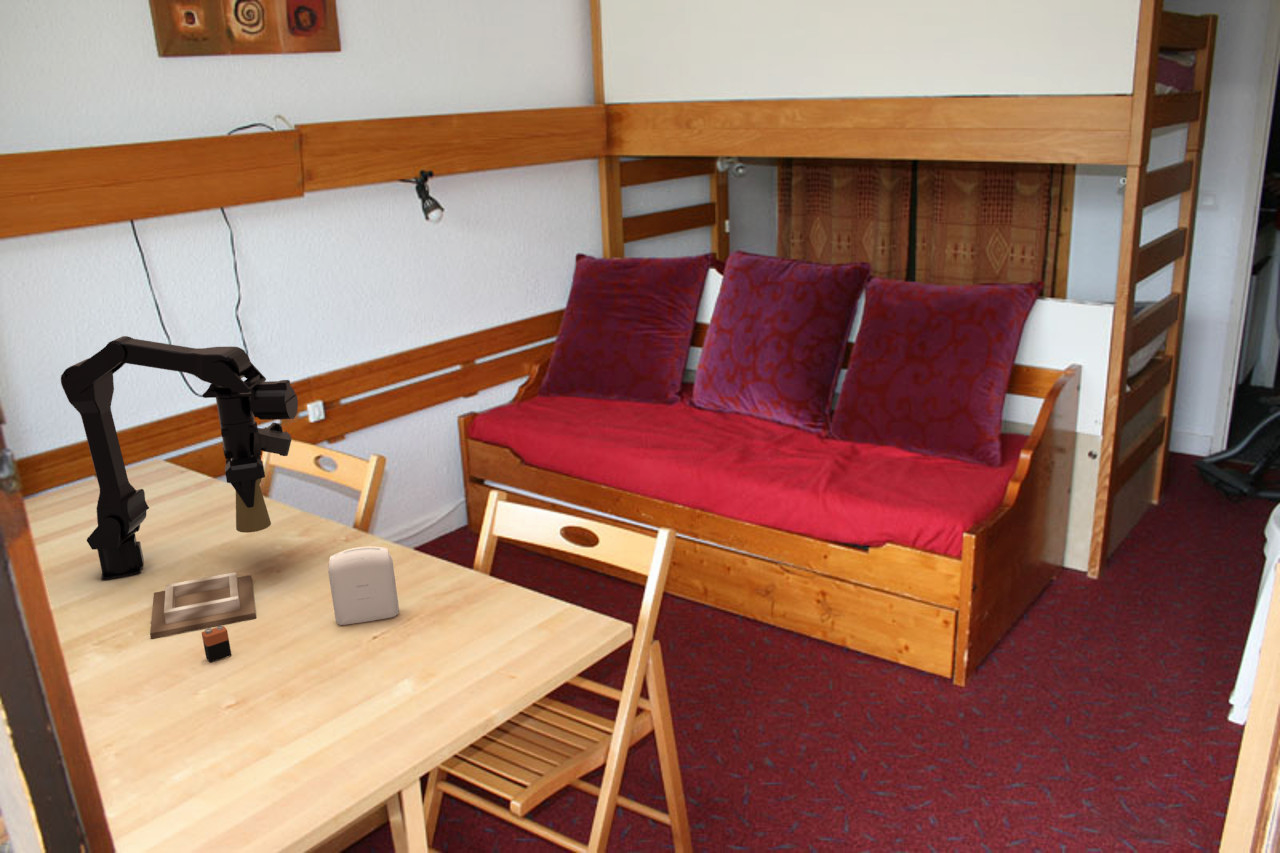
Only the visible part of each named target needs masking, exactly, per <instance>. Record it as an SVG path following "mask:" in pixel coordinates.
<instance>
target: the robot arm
mask: <svg viewBox="0 0 1280 853" xmlns="http://www.w3.org/2000/svg"><path fill="white" fill-rule="evenodd" d="M126 364H128V365H134V366H141V367H146V368H147V367H148V368H154V369H160V370H166V371H171V372H178V373H180V372H181V373H185V374H186V373H187V374H189V375H192V376H193V377H194V376H195V377H196V378H198V379H199V380H201V381H203V382H205V383H209V384H210V385H209V387H208V388H207V390H206V391H205V392H203V393H202V397H203V399H204V398H205V399H211V398H212V399H213V398H214V399H215V401H216V407H217V413H218V421H219V427H220V434H221V439H222V450H223V455H224V459H225V465H224V474H225V479H226V483H228V484H231V486H232V488H233V489H234V490H235V493H236V492H237V493H238V494H239V496H240V497H241V499H242V500H243V502H244V503H245V505H246V506H247V508H251V507H254V497H255V485H256V481H257V480H258V479H261V478H262V479H263V478H265V477H266V474H265V473H266V472H265V468H264V462H263V460H262V457H261V455H262V452H265V453H271V454H276V455H279V456H280V457H281V456H282V457H287V456H288V455H289V452H290V447H291V443H292V436H291V434H290V433H288V431H283V426H282V424H281V423H280V422H273V421H272V422H271V423H270V425H269V426H268V428H267V427H264V428H260V427H258V423H257V421H255V418H258V419H259V420H262V421H264V420H265V421H266V420H267V421H269V420H294V419H295V418H296V416H297V414H298V410H299V409H298V408H299V404H298V403H299V399H298V395H297V394H296V392H295V389H294V388H293V387H292V386H291V382H290V380H289V379H281V380H277V381H276V380H275V381H273V380H272V381H270V380H269V381H266V380H267V378H266V377H265V376H264V375H263V373H261V371H260V370H259V369H258V368H257V367H256V366H255V365H254V364H253V362H251V359H250V356H249V355H248V354H247V353H246V351H245V349H243V348H241V347H238V346H211V347H204V348H203V347H202V348H201V347H200V348H197V347H196V348H195V347H188V346H182V345H178V344H177V345H176V344H170V343H162V342H156V341H152V340H144V339H138V338H133V337H131V336H128V335H125V336H124V335H121V336H120V337H117V338H116V339H114V340H110V341H109V342H107V344H106V346H104V347H103V348H101V349H100V350H99V351H98V352H96V353H94V354H93V355H92V356H91V357H89V358H88V357H87V358H86V359H84V360H81V361H80V362H77V363H75V364H73V365H70V366H69V367H67V368H66V369H65V370H64V371H63V372H62V374H61V375H60V384H61V387H62V389H63V392H64V395H65V396H66V399H67V400H68V402H69V403H70V405H71V406H72V407H73V408H74V410H76V411H77V413H79V415H80V417H81V422H82V424H83V429H84V432H85V436H86V440H87V444H88V448H89V453H90V456H91V461H92V463H93V468H94V471H95V472H94V473H95V475H96V480H97V484H98V487H99V495H98V500H97V505H96V521H97V522H96V523H97V526H96V528H95V529H94V530H93V531H92V532H91V534H90V535H89V536H88V537H87V538H86V542H87V544H88V546H90V547H89V548H90V549H91V550H97V554H98V555H97V556H98V558H99V559H98V560H99V564H100V568H101V576H100V578H101V580H102V581H106V580H111V579H117V578H123V577H129V576H134V575H139V574H141V573H142V567H143V566H144V564H145V561H144V560H145V559H144V555H143V549H142V544H141V541H140V540H138V541H137V538H136V533H137V532H139V531H140V528H141V524H142V523H143V522H144V521H145V519H146V518H147V511H148V510H149V509H150V507H149V505H148V504H147V501H146V493H145V490H144V489H143V488H139V489H135V487H134V486H133V485H132V484H131V482H130V481H129V478H128V475H127V468H126V465H125V462H124V458H123V454H122V450H121V445H120V441H119V438H118V433H117V430H116V425H115V421H114V417H113V413H112V412H113V411H112V407H111V406H112V400H113V397H114V390H115V387H114V386H115V385H114V374H115V373H117V372H118V371H119V370H120V369H121V368H122V367H123V366H125V365H126ZM243 378H245V380H243Z"/></svg>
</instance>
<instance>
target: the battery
mask: <svg viewBox="0 0 1280 853" xmlns="http://www.w3.org/2000/svg"><path fill="white" fill-rule="evenodd" d="M201 637H202V643H203V649H204V655H205V658H206V660H207V661H208V662H209V663H213V662H217V661H219V660H223V659H225V658H228V657H231V656H232V651H231V644H230V639H229V638H230V637H229V633H228V629H227V628H226V627H225V626H224V625H219V626H215V627H209V628H205V629H204V631H202V632H201Z"/></svg>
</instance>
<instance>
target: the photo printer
mask: <svg viewBox="0 0 1280 853" xmlns="http://www.w3.org/2000/svg"><path fill="white" fill-rule="evenodd" d="M394 567H395V566H394V560H393V557H392V555H391V554H390V552H389V548H387V547H382V546H381V547H380V546H358V547H353V548H349V549H345V550H342V551H339V552H336V553H334V554H332V555H331V556H329V563H328V579H329V585H330V592H331V598H332V605H333V610H334V618H335V623H336V624H337V623H338V624H339V625H338V624H337V625H338V626H344V625H352V624H359V623H365V622H373V621H378V620H384V619H390V618H395V617H397V616H398V615H399V614H398V613H400V606H399V599H398V597H399V596H398V591H397V583H396V576H395V568H394ZM397 614H398V615H397ZM396 615H397V616H396Z"/></svg>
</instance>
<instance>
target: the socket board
mask: <svg viewBox="0 0 1280 853" xmlns="http://www.w3.org/2000/svg"><path fill="white" fill-rule="evenodd" d="M255 603H256V602H255V596H254V588H253V578H252V574H249V575H247V574H246V575H242V576H238V575H237V572H236V571H235V572H230V573H224V574H219V575H213V576H208V577H202V578H197V579H190V580H185V581H180V582H174V583H169V584H165V590H160V591H156V592H153V596H152V607H151V620H150V628H149V631H150V632H149V635H150V639H151V640H154V639H157V638H159V639H160V638H163V637H164V638H165V637H167V636H173V635H178V634H183V633H189V632H194V631H198V630H203V629H204V630H205V629H208V628H215V627H217V626H220V625H222V626H224V625H228V624H235V623H239V622H244V621H249V620H253V619H257V615H256V613H257V612H256V604H255Z"/></svg>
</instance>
